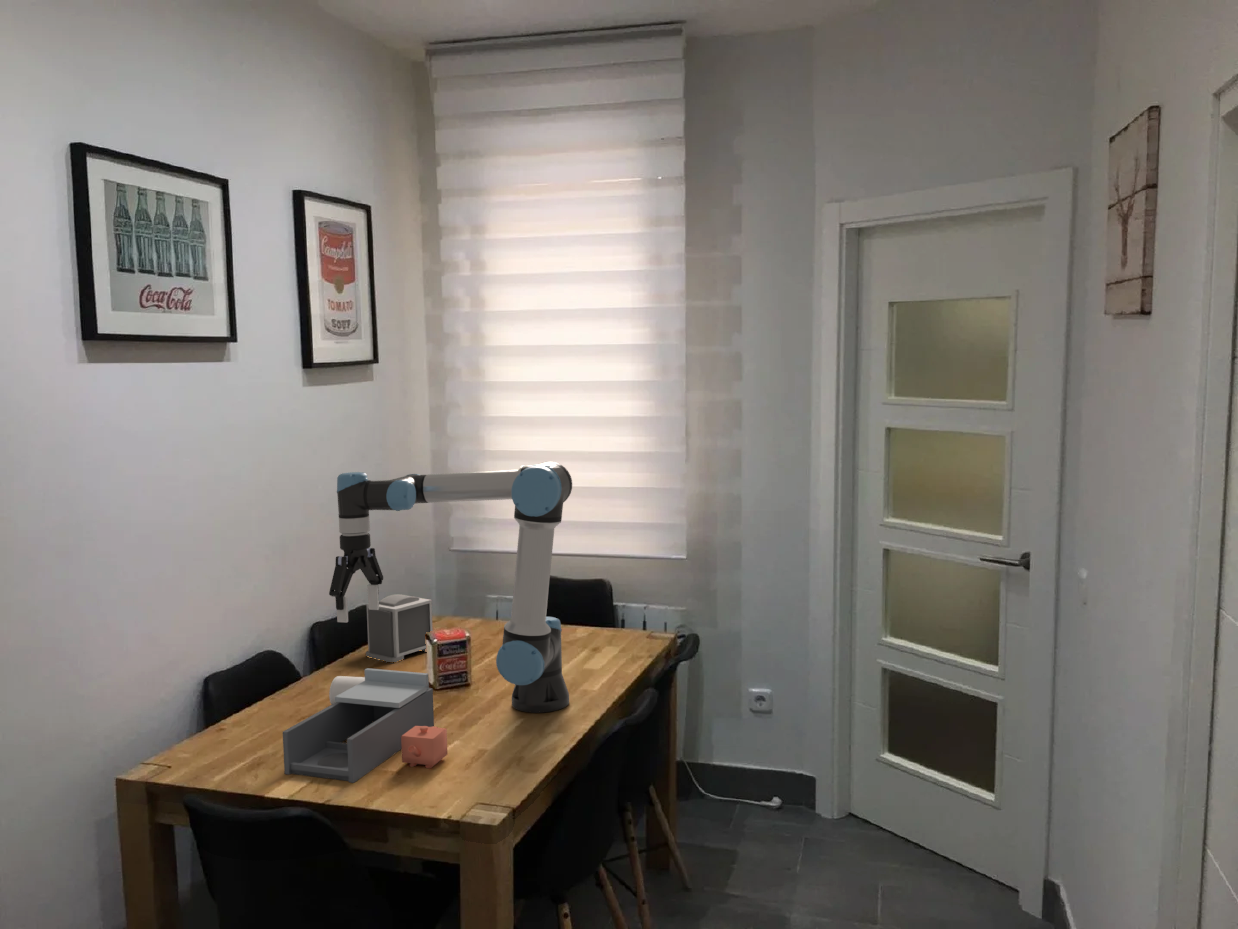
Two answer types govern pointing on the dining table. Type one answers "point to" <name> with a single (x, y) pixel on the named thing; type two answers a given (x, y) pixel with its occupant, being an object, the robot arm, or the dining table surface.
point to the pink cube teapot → (424, 745)
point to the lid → (386, 688)
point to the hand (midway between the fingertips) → (358, 615)
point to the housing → (351, 738)
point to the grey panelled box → (398, 627)
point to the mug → (343, 685)
